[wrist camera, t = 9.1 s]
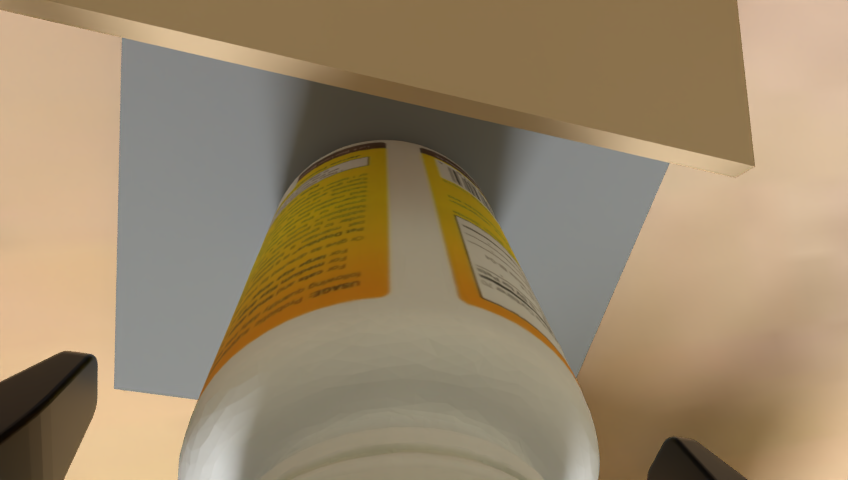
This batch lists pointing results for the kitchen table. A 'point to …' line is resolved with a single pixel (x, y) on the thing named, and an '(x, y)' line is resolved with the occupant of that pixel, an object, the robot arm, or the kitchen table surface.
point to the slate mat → (286, 159)
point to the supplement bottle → (388, 340)
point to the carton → (484, 60)
